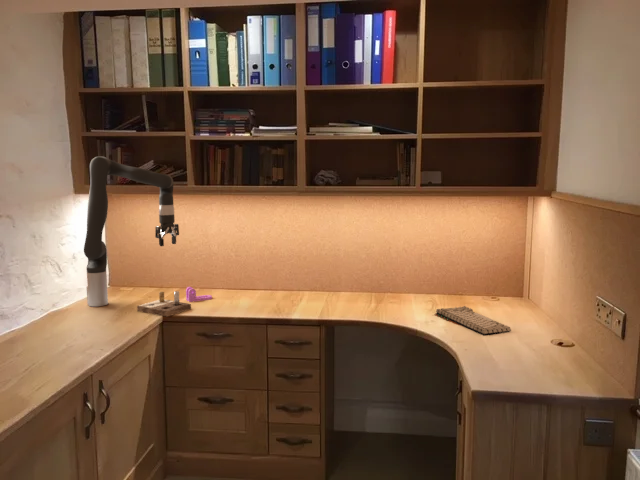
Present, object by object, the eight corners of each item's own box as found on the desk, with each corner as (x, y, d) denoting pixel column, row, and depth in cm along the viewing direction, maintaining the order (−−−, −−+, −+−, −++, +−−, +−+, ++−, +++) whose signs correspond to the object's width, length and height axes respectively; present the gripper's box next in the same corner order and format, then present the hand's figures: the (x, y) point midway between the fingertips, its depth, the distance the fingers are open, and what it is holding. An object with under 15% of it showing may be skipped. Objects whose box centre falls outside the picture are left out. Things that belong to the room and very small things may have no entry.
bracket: (189, 302, 280) (188, 289, 279) (186, 300, 285) (185, 287, 284) (213, 299, 286) (212, 286, 285) (210, 297, 291) (209, 284, 290)
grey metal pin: (173, 309, 264) (172, 292, 263) (177, 308, 267) (176, 291, 265) (177, 310, 263) (176, 292, 262) (180, 309, 265) (180, 291, 264)
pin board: (137, 311, 262) (136, 295, 261) (161, 303, 276) (161, 289, 275) (167, 316, 253) (166, 300, 251) (190, 308, 266) (190, 293, 265)
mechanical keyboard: (517, 332, 231) (518, 325, 230) (482, 338, 224) (482, 330, 223) (463, 311, 265) (463, 304, 265) (430, 315, 258) (431, 308, 258)
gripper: (171, 212, 281) (172, 242, 284) (150, 214, 269) (152, 246, 271) (182, 213, 278) (183, 243, 280) (161, 215, 265) (163, 247, 268)
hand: (167, 245), depth 276 cm, fingers open, 8 cm apart
